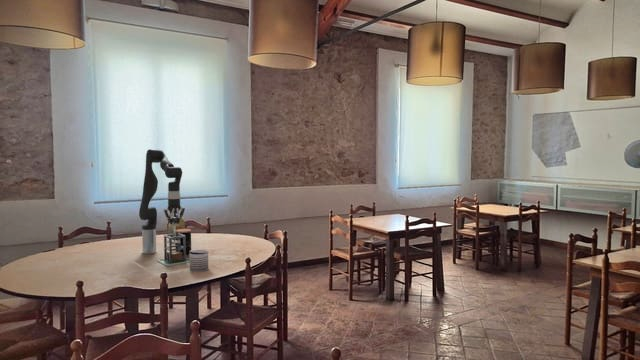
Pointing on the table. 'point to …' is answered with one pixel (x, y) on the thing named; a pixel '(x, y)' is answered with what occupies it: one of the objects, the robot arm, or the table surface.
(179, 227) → the ceramic jug
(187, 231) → the coffee jar
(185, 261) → the tray
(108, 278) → the table surface
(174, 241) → the plunger
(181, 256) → the press frame
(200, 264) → the can
